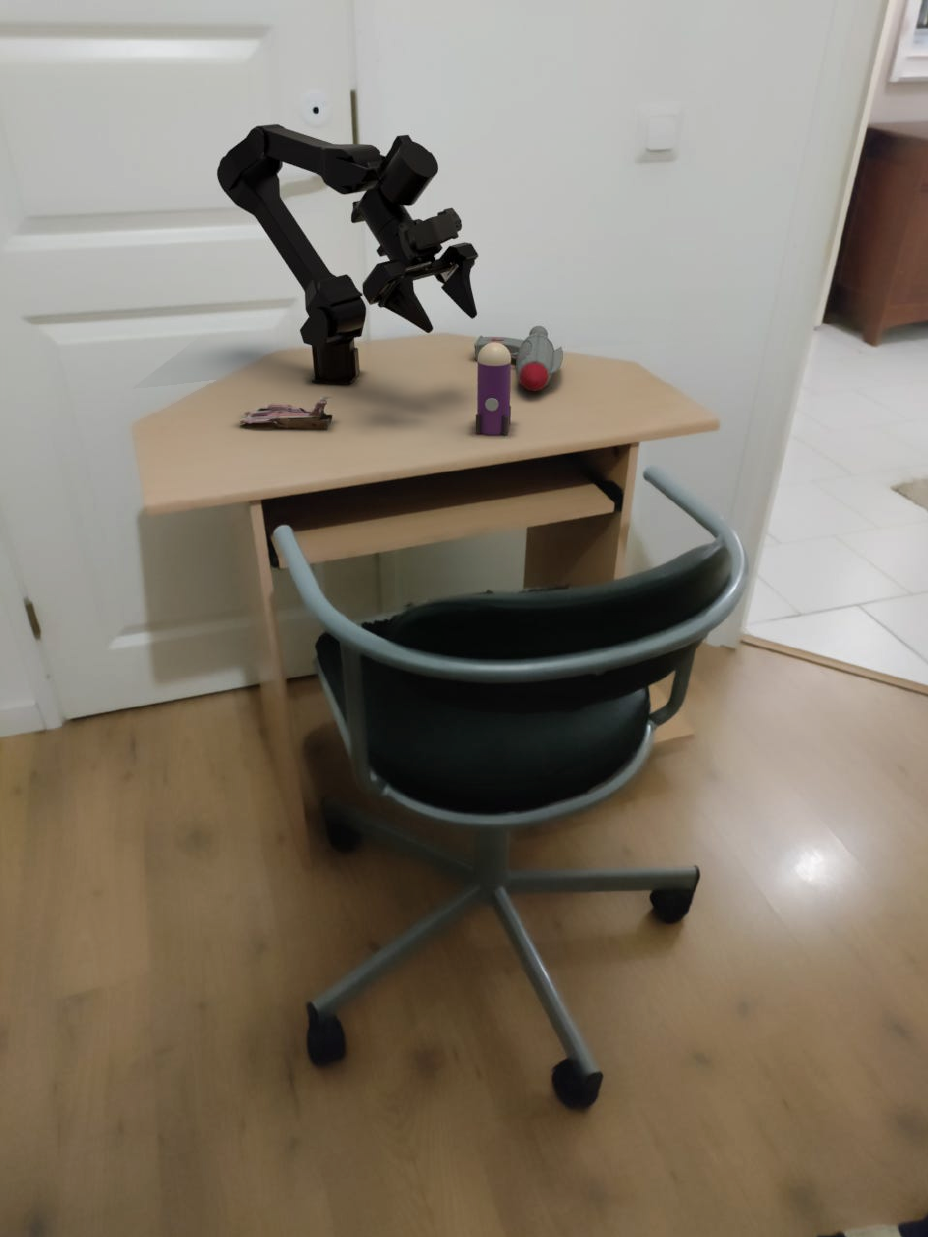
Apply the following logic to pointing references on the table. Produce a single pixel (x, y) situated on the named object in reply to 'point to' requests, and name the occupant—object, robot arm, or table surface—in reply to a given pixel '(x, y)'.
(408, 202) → the robot arm
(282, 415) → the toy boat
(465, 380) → the table surface
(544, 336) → the toy ray gun
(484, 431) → the toy rocket
